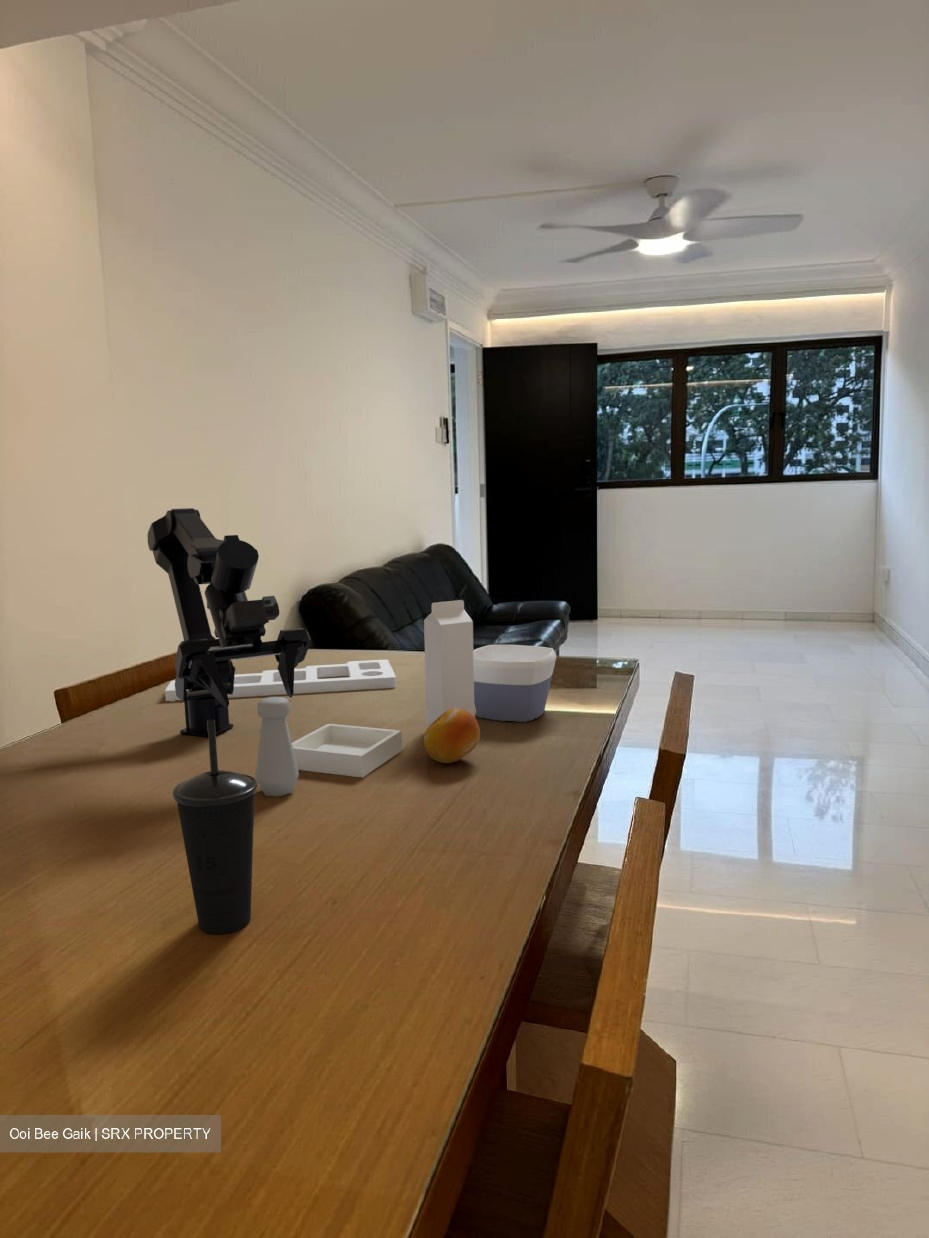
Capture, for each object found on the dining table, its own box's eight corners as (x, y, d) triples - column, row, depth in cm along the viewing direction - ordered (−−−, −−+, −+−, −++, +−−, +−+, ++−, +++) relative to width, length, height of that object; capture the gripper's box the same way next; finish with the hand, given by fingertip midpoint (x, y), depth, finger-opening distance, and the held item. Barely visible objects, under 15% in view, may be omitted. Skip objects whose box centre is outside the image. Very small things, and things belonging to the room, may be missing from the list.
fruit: (412, 760, 130) (411, 709, 128) (458, 749, 135) (457, 699, 134) (446, 775, 123) (444, 721, 122) (492, 762, 128) (491, 710, 127)
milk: (475, 734, 143) (473, 602, 139) (442, 739, 140) (440, 605, 136) (457, 725, 148) (455, 597, 144) (425, 730, 145) (423, 600, 142)
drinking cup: (193, 904, 87) (178, 711, 83) (270, 900, 87) (258, 708, 84) (174, 945, 79) (157, 734, 76) (259, 939, 80) (246, 730, 77)
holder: (165, 704, 168) (164, 690, 168) (178, 683, 185) (177, 671, 185) (396, 690, 176) (396, 677, 175) (388, 671, 193) (387, 659, 193)
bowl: (455, 721, 151) (453, 658, 149) (486, 699, 165) (485, 642, 163) (539, 729, 145) (539, 664, 143) (564, 706, 159) (564, 647, 157)
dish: (284, 768, 127) (283, 747, 127) (329, 742, 139) (328, 723, 139) (362, 777, 123) (361, 755, 122) (402, 750, 135) (401, 730, 134)
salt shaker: (289, 800, 115) (284, 705, 113) (249, 797, 116) (243, 703, 114) (306, 784, 120) (301, 694, 118) (267, 782, 121) (262, 692, 119)
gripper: (173, 583, 118) (201, 677, 110) (303, 573, 127) (336, 659, 120) (164, 632, 126) (189, 723, 118) (287, 620, 135) (317, 702, 128)
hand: (260, 700), depth 121 cm, fingers open, 9 cm apart
